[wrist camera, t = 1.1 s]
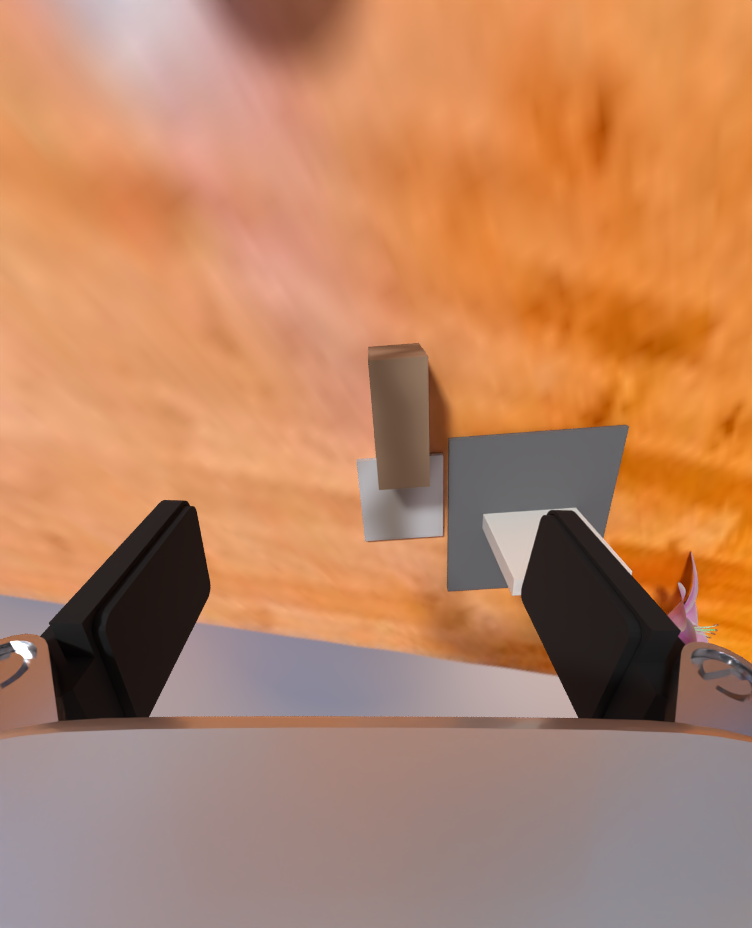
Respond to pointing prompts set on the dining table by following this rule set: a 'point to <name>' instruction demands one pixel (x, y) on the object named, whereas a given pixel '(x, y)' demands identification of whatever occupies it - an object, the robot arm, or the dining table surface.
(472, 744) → the robot arm
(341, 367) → the dining table surface
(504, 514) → the tile
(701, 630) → the lily
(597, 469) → the mat
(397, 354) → the brown and grey block
